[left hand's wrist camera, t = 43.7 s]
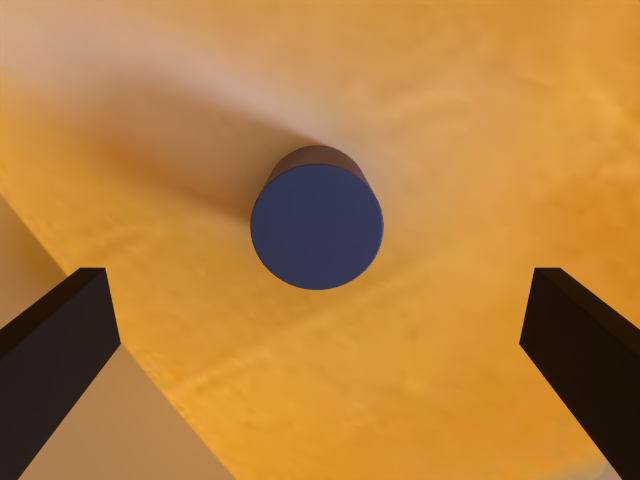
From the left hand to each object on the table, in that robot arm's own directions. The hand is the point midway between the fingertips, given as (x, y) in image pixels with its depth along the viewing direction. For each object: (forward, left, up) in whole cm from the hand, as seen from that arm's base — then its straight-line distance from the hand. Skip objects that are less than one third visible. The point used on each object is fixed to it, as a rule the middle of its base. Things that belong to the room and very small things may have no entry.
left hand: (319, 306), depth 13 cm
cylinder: (0, 0, -16) cm, 16 cm away
